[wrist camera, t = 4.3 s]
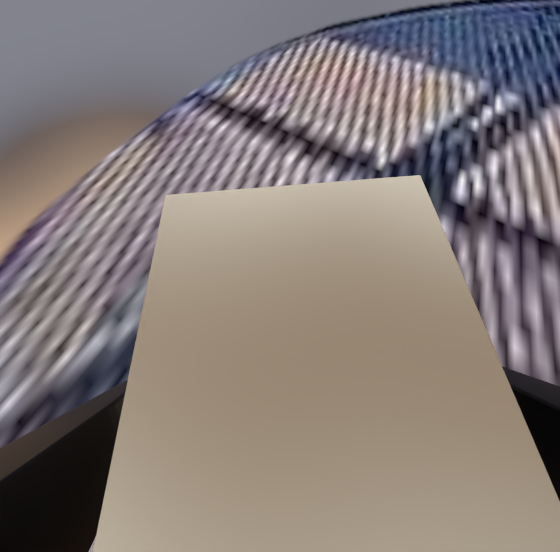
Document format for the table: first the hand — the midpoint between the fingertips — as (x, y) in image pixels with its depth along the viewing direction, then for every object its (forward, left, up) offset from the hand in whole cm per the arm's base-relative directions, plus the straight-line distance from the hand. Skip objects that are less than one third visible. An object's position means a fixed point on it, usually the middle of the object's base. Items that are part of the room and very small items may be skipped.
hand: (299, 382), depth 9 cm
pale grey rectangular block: (-1, -1, -7) cm, 7 cm away
